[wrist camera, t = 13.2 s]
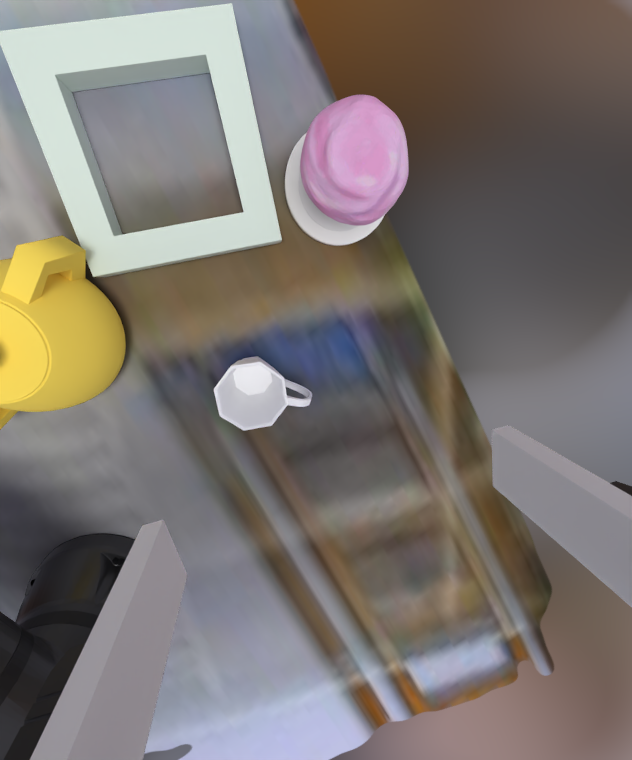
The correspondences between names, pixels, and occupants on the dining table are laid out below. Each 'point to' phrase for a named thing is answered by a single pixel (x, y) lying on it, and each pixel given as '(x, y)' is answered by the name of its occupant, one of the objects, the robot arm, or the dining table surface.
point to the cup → (255, 394)
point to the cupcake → (355, 160)
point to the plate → (310, 215)
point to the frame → (128, 66)
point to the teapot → (54, 330)
